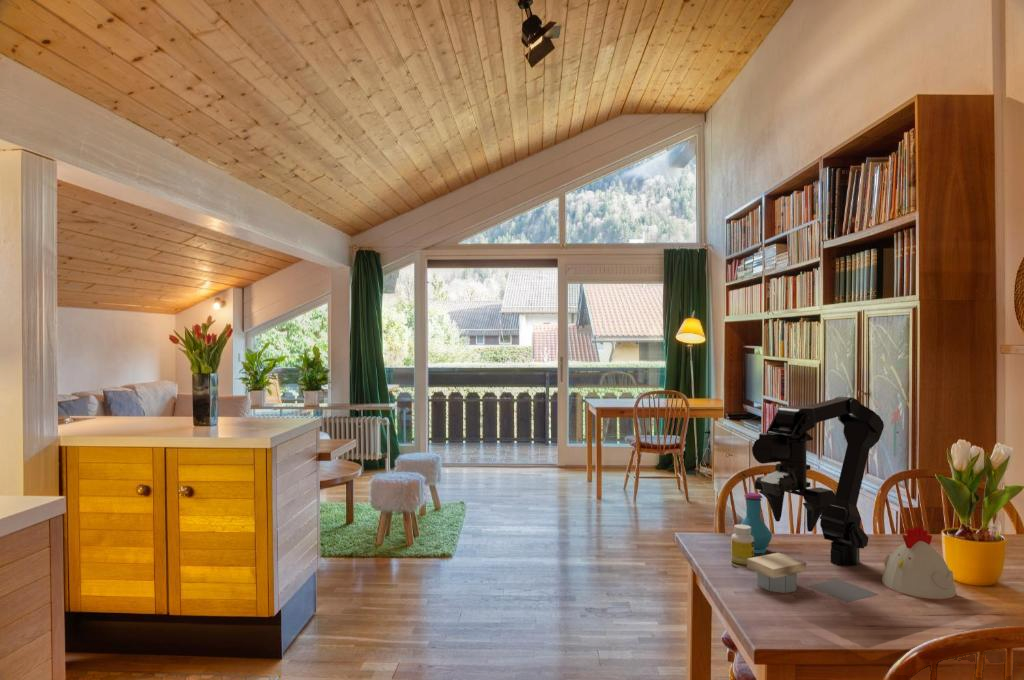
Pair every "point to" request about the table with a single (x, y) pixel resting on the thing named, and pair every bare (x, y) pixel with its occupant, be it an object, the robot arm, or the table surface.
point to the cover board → (776, 565)
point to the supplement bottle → (741, 545)
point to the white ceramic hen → (918, 568)
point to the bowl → (777, 583)
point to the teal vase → (756, 523)
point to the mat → (842, 590)
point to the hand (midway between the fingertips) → (793, 526)
